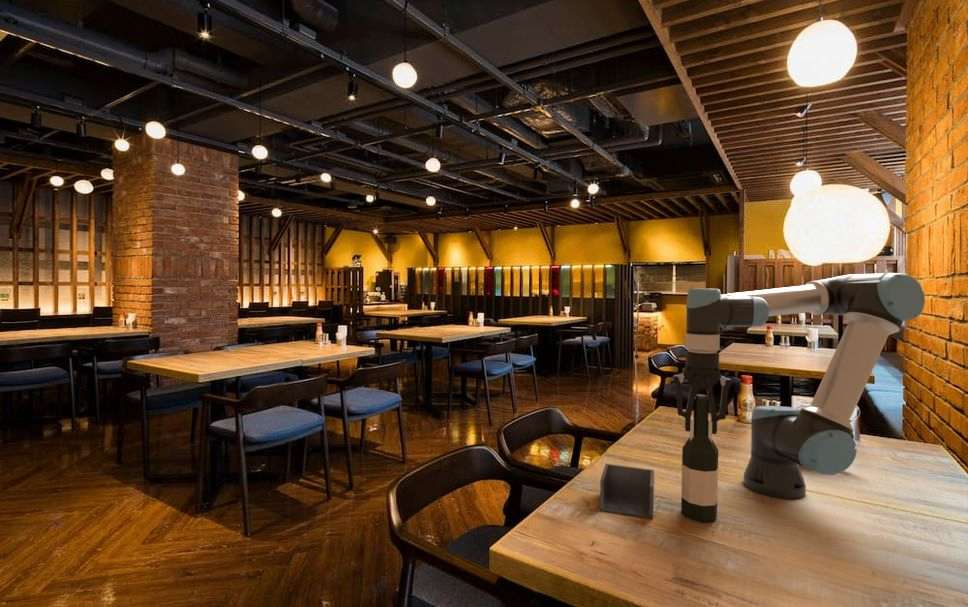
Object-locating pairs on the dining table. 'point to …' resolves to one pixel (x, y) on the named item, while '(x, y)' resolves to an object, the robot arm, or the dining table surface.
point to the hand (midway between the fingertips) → (700, 445)
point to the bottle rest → (627, 491)
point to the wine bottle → (700, 469)
